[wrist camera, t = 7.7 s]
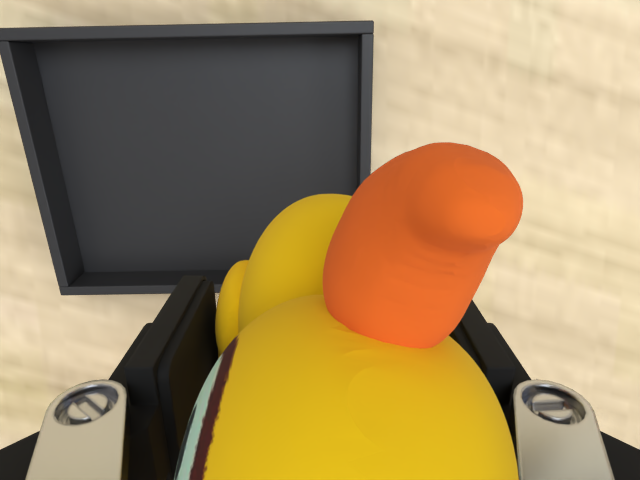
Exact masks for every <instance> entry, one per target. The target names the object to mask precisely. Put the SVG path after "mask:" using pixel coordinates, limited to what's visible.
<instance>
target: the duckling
mask: <svg viewBox="0 0 640 480" xmlns="http://www.w3.org/2000/svg"><path fill="white" fill-rule="evenodd" d="M522 209H523V197H522V192H521V189H520V186H519V184H518V182H517V181H516V179H515V177H514V176H513V174H512V173H511V172H510V170H509V169H508V168H507V167H506V165H505V164H503V163H502V162H501V161H500V160H499V159H497V158H496V157H494V156H492V155H491V154H489V153H487V152H484V151H482V150H479V149H476V148H473V147H471V146H468V145H463V144H456V143H432V144H428V145H425V146H422V147H419V148H417V149H414V150H411V151H408V152H405V153H403V154H401V155H399V156H397V157H395V158H393V159H392V160H390V161H388V162H387V163H386V164H384V165H382V166H381V167H380V168H378V169H377V170H376V171H374V172H373V173H372V174H371V175H369V176H368V177H367V178H366V179H365V180H364V181H363V182H362V184H361V185H360V186H359V187H358V189H357V190H356V191H355V193H354V194H353V196H349V195H342V194H318V195H313V196H309V197H306V198H303V199H301V200H299V201H297V202H295V203H293V204H291V205H290V206H288V207H287V208H285V209H284V210H283V211H282V212H281V213H279V214H278V215H277V216H276V217H275V218H274V219H273V220H272V222H271V223H270V224H269V225H268V226H267V228H266V229H265V231H264V232H263V234H262V235H261V237H260V238H259V240H258V242H257V244H256V246H255V248H254V250H253V252H252V254H251V257H250V259H249V260H243V261H239V262H237V263H236V264H234V265H233V266H232V267H231V269H230V270H229V272H228V273H227V275H226V277H225V279H224V282H223V284H222V287H221V290H220V294H219V298H218V303H217V310H216V319H215V334H216V342H217V346H218V360H217V362H216V363H215V365H214V367H213V368H212V370H211V372H210V373H209V375H208V377H207V379H206V381H205V383H204V385H203V387H202V389H201V391H200V393H199V396H198V398H197V400H196V403H195V405H194V408H193V411H192V414H191V416H190V419H189V422H188V426H187V429H186V432H185V435H184V439H183V443H182V446H181V450H180V454H179V458H178V462H177V467H176V472H175V477H174V480H519V474H518V467H517V460H516V455H515V450H514V446H513V442H512V438H511V434H510V431H509V428H508V424H507V421H506V419H505V416H504V413H503V411H502V408H501V406H500V404H499V401H498V399H497V397H496V395H495V393H494V391H493V389H492V387H491V385H490V384H489V382H488V380H487V379H486V377H485V375H484V374H483V372H482V371H481V370H480V368H479V367H478V365H477V364H476V363H475V361H474V360H473V359H472V358H471V357H470V355H469V354H468V353H467V352H466V351H465V350H464V349H463V348H462V347H461V346H460V345H459V344H458V343H457V342H456V341H454V340H453V339H452V338H451V337H450V336H449V334H450V333H451V332H452V331H453V330H454V329H455V328H456V326H457V325H458V323H459V322H460V320H461V319H462V317H463V316H464V314H465V312H466V310H467V308H468V306H469V304H470V302H471V300H472V298H473V296H474V294H475V292H476V291H477V289H478V287H479V285H480V283H481V281H482V279H483V277H484V275H485V272H486V270H487V268H488V265H489V263H490V261H491V259H492V257H493V255H494V253H495V251H496V249H497V247H498V246H499V244H501V243H502V242H504V241H505V240H506V239H508V238H509V237H510V236H511V234H512V233H513V232H514V231H515V229H516V227H517V225H518V223H519V221H520V218H521V215H522Z"/></svg>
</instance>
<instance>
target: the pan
mask: <svg viewBox="0 0 640 480" xmlns="http://www.w3.org/2000/svg"><path fill="white" fill-rule="evenodd" d="M373 32H374V22H373V21H327V22H278V23H228V24H178V25H128V26H79V27H29V28H0V55H1V59H2V63H3V67H4V71H5V74H6V78H7V82H8V86H9V90H10V94H11V98H12V102H13V106H14V110H15V114H16V118H17V122H18V126H19V130H20V134H21V138H22V142H23V146H24V150H25V154H26V158H27V162H28V166H29V170H30V174H31V178H32V182H33V186H34V190H35V194H36V198H37V202H38V206H39V210H40V214H41V217H42V221H43V225H44V229H45V233H46V237H47V241H48V245H49V249H50V253H51V257H52V261H53V265H54V269H55V273H56V277H57V281H58V285H59V289H60V293H61V295H108V294H170V293H172V292H173V290H174V289H175V287H176V286H177V284H178V283H179V281H180V280H181V278H182V277H183V276H205V277H206V279H207V281H213V283H214V290H215V293H220V290H221V287H222V284H223V282H224V279H225V277H226V275H227V273H228V272H229V270H230V269H231V267H232V266H233V265H234V264H236V263H237V262H239V261H243V260H249V259H250V257H251V254H252V252H253V250H254V248H255V246H256V244H257V242H258V240H259V238H260V237H261V235H262V234H263V232H264V231H265V229H266V228H267V226H268V225H269V224H270V223H271V222H272V220H273V219H274V218H275V217H276V216H277V215H278V214H279V213H281V212H282V211H283V210H284V209H285V208H287V207H288V206H290V205H291V204H293V203H295V202H297V201H299V200H301V199H303V198H306V197H309V196H313V195H318V194H342V195H349V196H353V194H354V193H355V191H356V190H357V189H358V187H359V186H360V185H361V184H362V182H363V181H364V180H365V179H366V178H367V177H368V176H369V175H370V170H371V125H372V80H373Z"/></svg>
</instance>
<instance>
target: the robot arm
mask: <svg viewBox="0 0 640 480" xmlns="http://www.w3.org/2000/svg"><path fill="white" fill-rule="evenodd" d="M215 319H216V301H215V290H214V283H213V281H207V279H206V277H205V276H183V277H182V278H181V280H180V281H179V283H178V284H177V286H176V287H175V289H174V290H173V292H172V294H171V295H170V297H169V298H168V300H167V301H166V303H165V304H164V306H163V307H162V309H161V311H160V312H159V314H158V315H157V317H156V318H155V320H154V321H153V323H147V324H146V325H145V326H144V327H143V329H142V330H141V332H140V333H139V335H138V336H137V338H136V339H135V341H134V342H133V344H132V345H131V347H130V348H129V350H128V351H127V353H126V354H125V356H124V357H123V359H122V360H121V362H120V363H119V365H118V366H117V368H116V369H115V371H114V372H113V374H112V375H111V377H110V378H109V380H94V381H89V382H85V383H82V384H79V385H76V386H74V387H72V388H70V389H68V390H66V391H65V392H63V393H62V394H60V395H59V396H57V397H56V398H55V399H54V400H53V401H52V402H51V403H50V405H49V407H48V409H47V411H46V413H45V416H44V419H43V423H42V426H41V429H40V431H39V432H36V433H34V434H32V435H30V436H28V437H26V438H24V439H22V440H20V441H18V442H16V443H13V444H11V445H9V446H7V447H5V448H3V449H1V450H0V480H174V477H175V472H176V467H177V462H178V458H179V454H180V450H181V446H182V443H183V439H184V435H185V432H186V429H187V426H188V422H189V419H190V416H191V414H192V411H193V408H194V405H195V403H196V400H197V398H198V396H199V393H200V391H201V389H202V387H203V385H204V383H205V381H206V379H207V377H208V375H209V373H210V372H211V370H212V368H213V367H214V365H215V363H216V362H217V360H218V346H217V342H216V334H215ZM449 336H450V337H451V338H452V339H453V340H454V341H456V342H457V343H458V344H459V345H460V346H461V347H462V348H463V349H464V350H465V351H466V352H467V353H468V354H469V355H470V357H471V358H472V359H473V360H474V361H475V363H476V364H477V365H478V367H479V368H480V370H481V371H482V372H483V374H484V375H485V377H486V379H487V380H488V382H489V384H490V385H491V387H492V389H493V391H494V393H495V395H496V397H497V399H498V401H499V404H500V406H501V408H502V411H503V413H504V416H505V419H506V421H507V424H508V428H509V431H510V434H511V438H512V442H513V446H514V450H515V455H516V460H517V467H518V474H519V480H640V450H639V449H637V448H635V447H633V446H630V445H628V444H626V443H624V442H622V441H620V440H618V439H616V438H614V437H612V436H610V435H608V434H605V433H603V432H601V431H600V429H599V426H598V423H597V419H596V416H595V413H594V411H593V409H592V407H591V405H590V403H589V402H588V401H587V400H586V399H585V398H584V397H583V396H581V395H580V394H578V393H577V392H575V391H574V390H572V389H570V388H568V387H566V386H564V385H561V384H558V383H555V382H551V381H546V380H531V379H530V377H529V376H528V374H527V373H526V371H525V370H524V368H523V367H522V365H521V364H520V362H519V361H518V359H517V358H516V356H515V355H514V353H513V352H512V350H511V349H510V347H509V346H508V344H507V343H506V341H505V340H504V338H503V337H502V335H501V334H500V332H499V331H498V329H497V328H496V326H495V325H494V324H493V323H487V322H486V320H485V319H484V317H483V316H482V314H481V313H480V311H479V310H478V308H477V306H476V305H475V303H474V302H473V300H471V302H470V304H469V306H468V308H467V310H466V312H465V314H464V316H463V317H462V319H461V320H460V322H459V323H458V325H457V326H456V328H455V329H454V330H453V331H452V332H451V333H450V334H449Z"/></svg>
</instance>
